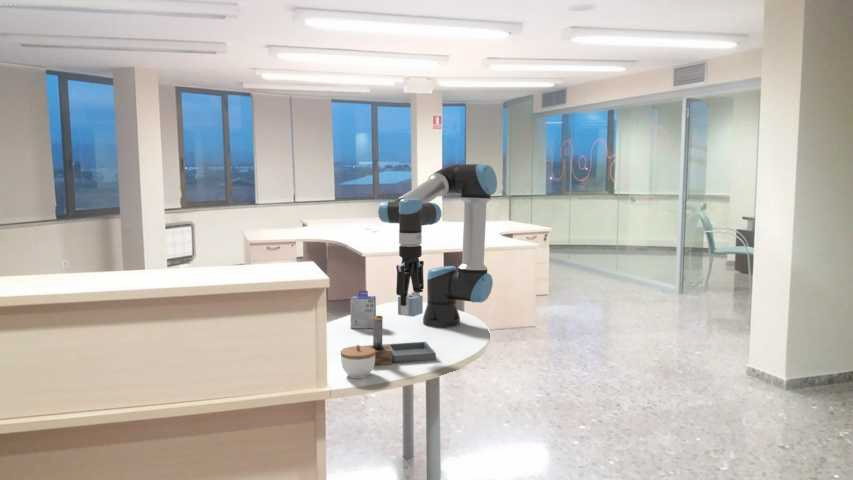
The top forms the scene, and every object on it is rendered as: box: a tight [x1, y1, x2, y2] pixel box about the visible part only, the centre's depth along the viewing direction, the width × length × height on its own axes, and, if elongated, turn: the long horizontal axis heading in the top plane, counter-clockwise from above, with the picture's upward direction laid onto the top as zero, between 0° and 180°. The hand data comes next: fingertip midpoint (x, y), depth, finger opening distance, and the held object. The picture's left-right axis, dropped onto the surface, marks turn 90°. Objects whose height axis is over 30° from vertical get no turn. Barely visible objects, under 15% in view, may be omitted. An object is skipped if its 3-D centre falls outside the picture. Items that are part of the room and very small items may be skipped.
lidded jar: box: [340, 344, 376, 379], centre depth 200 cm, size 11×11×9 cm
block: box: [397, 293, 424, 317], centre depth 219 cm, size 6×6×6 cm
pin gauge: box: [372, 315, 384, 350], centre depth 213 cm, size 3×3×14 cm
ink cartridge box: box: [349, 290, 377, 329], centre depth 258 cm, size 10×6×14 cm, turn 91°
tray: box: [386, 341, 437, 364], centre depth 221 cm, size 14×14×2 cm
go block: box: [366, 343, 393, 367], centre depth 214 cm, size 8×8×4 cm
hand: (410, 312), depth 219 cm, fingers closed on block, 6 cm apart
